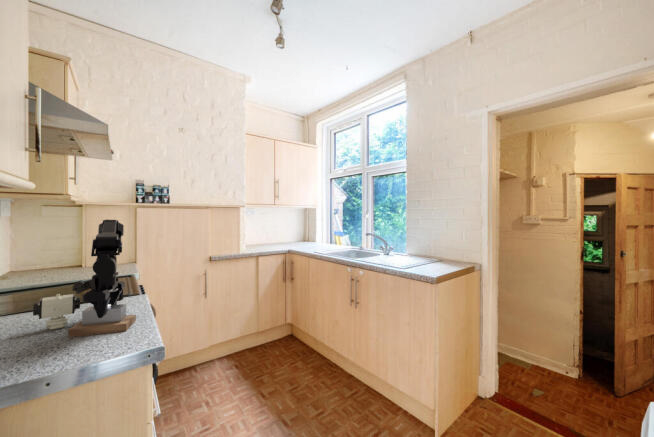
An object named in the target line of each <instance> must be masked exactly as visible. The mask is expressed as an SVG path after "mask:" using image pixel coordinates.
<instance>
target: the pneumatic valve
mask: <svg viewBox="0 0 654 437" xmlns="http://www.w3.org/2000/svg"><path fill="white" fill-rule="evenodd" d="M80 309H81V296H76V294H75V293H72V294H64V295H61V294H60V293H56V295H54V296H47V297H40V298H39V301H38V302H34V303H33V306H32V316H33V317H35V316H37V317H38V320H40V319H41V320H42V319H48V318H49V320H47V321H46V325H45V326H46V329H49V330H58V329H63V328H65V327H66V325H68V317H66V315H67V316H68V315H73V314H75V311H77V310H80Z"/></svg>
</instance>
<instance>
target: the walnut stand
mask: <svg viewBox="0 0 654 437" xmlns="http://www.w3.org/2000/svg"><path fill="white" fill-rule="evenodd" d="M136 319H137V316H136V314H130V315H127V314H126V318H125V319H124V320H122V321H121V322H117V323H107V324H97V325H86V326H82V320H81V321H79V322H78V323H77V324H75V325H72V326H71V327H70V328H69V329H67V337H68V338H72V337H83V336H91V335H92V336H94V335H101V334H109V333H119V332H127V331H128V330H129V329H130V328H131V326H132V325H134V323H136Z"/></svg>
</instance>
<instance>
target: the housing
mask: <svg viewBox="0 0 654 437" xmlns="http://www.w3.org/2000/svg"><path fill="white" fill-rule="evenodd" d="M126 315H127V303H123V304H122V303H121V304H117V305H111V304H108V306H107V308H106V311H105V313H104V315H103V317H102V318H98V316H97V313H96V311H95V308H94V306H93V305H92V306H89V307H87V308H86V309H83V310H82V312H81V321H82V326H86V325H97V324H107V323H117V322H121V321H122V320H124V319H125V318H126Z"/></svg>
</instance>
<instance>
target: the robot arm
mask: <svg viewBox="0 0 654 437" xmlns="http://www.w3.org/2000/svg"><path fill="white" fill-rule="evenodd" d="M124 228H125V225H124V224H123V223H121V222H119V220H118V219H104V220H102V222H101V223H99V224H98V232H97V234H96V235H95V238H94V239H93V240H92V246H91V254H90V256H91V257H95V262H94V263H93V265H92V271H93V273H95V274H93V275H92V276H91V279H88V280H85V281H83V280H79V281H75V282H74V283H73V285H72V288H71V290H72V291H73V292H75V293H76V295H78V294H81V293H83V292H85V291H86V292H85V293H84V294H83V295H81V296H82V298H81V302H84V303H85V302H86V303H89V304H91V305H92V307H93V306H94V308H95V311H96V313H97V316H98V318H102V317H103V315H104V313H105V311H106V308H107V306H108V304H111V305H118V302H121V301H123V300H124V289H125V287H126V286H125V285H126V284H125V281H123V280H119V278H118V277H117V276H119V271H117V262H118V261H117V259H118V258H117V256H120V255H121V254H122V252H123V241H122V237H124V235H125V234H124V233H125V230H124Z"/></svg>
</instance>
